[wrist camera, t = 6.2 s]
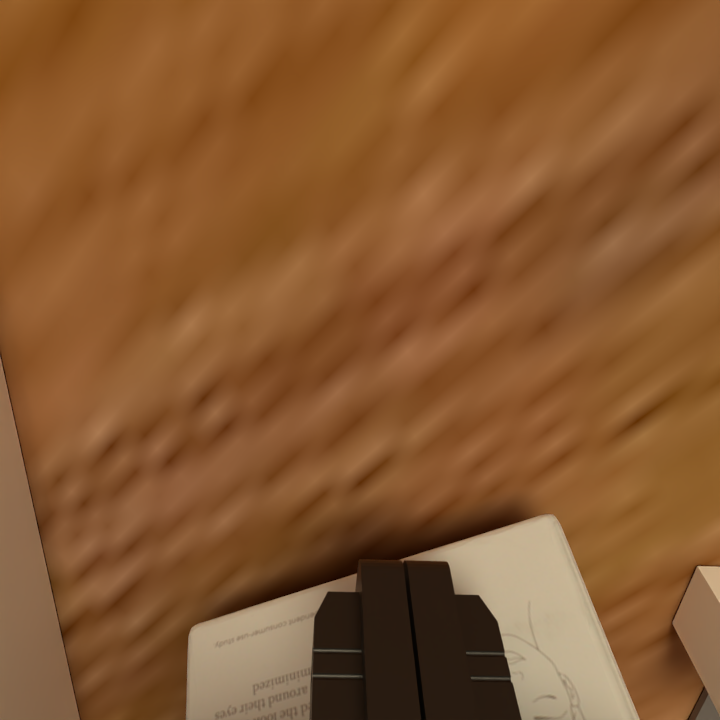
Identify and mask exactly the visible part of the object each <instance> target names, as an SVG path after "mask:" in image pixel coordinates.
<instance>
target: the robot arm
mask: <svg viewBox="0 0 720 720" xmlns="http://www.w3.org/2000/svg"><path fill="white" fill-rule="evenodd" d="M309 720H522V719H521V715H520V710H519V706H518V702H517V698H516V694H515V690H514V686H513V683H511V674H510V670H509V666H508V662H507V658H506V657H505V650H504V646H503V642H502V638H501V633H500V629H499V625H498V621H497V620H496V618H495V617H494V616H493V614H492V613H491V611H490V610H489V609H488V607H487V606H486V604H485V603H484V602H483V600H482V599H481V597H480V596H479V595H460V594H455V592H454V587H453V582H452V576H451V571H450V567H449V564H448V562H446V561H415V560H404V562H403V563H402V561H401V560H372V559H359V562H358V569H357V579H356V588H355V592H332V591H328V592H327V594H326V596H325V598H324V600H323V602H322V603H321V605H320V607H319V609H318V611H317V613H316V615H315V617H314V631H313V647H312V663H311V682H310V714H309Z"/></svg>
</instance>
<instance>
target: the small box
mask: <svg viewBox="0 0 720 720" xmlns="http://www.w3.org/2000/svg"><path fill="white" fill-rule="evenodd" d="M400 560H401V561H402V563H403V562H404V560H415V561H446V562H448V564H449V567H450V571H451V576H452V582H453V587H454V592H455V594H460V595H479V596H480V597H481V599H482V600H483V602H484V603H485V604H486V606H487V607H488V609H489V610H490V611H491V613H492V614H493V616H494V617H495V618H496V620H497V621H498V625H499V629H500V633H501V638H502V642H503V646H504V650H505V657H506V658H507V662H508V666H509V670H510V674H511V683H513V686H514V690H515V694H516V698H517V702H518V706H519V710H520V715H521V719H522V720H640V719H639V716H638V714H637V712H636V709H635V707H634V704H633V702H632V699H631V697H630V695H629V692H628V690H627V687H626V685H625V683H624V680H623V678H622V675H621V673H620V670H619V668H618V665H617V663H616V660H615V658H614V655H613V653H612V650H611V648H610V645H609V643H608V641H607V638H606V636H605V633H604V631H603V628H602V626H601V623H600V621H599V618H598V616H597V613H596V611H595V608H594V606H593V603H592V601H591V598H590V596H589V594H588V591H587V589H586V586H585V584H584V581H583V579H582V576H581V574H580V571H579V569H578V566H577V564H576V561H575V559H574V556H573V554H572V551H571V549H570V546H569V544H568V542H567V539H566V537H565V534H564V532H563V530H562V527H561V525H560V523H559V521H558V519H557V518H556V517H555V516H554V515H552V514H543V515H539V516H536V517H533V518H530V519H527V520H524V521H521V522H517V523H514V524H511V525H508V526H505V527H502V528H499V529H495V530H492V531H489V532H486V533H483V534H480V535H477V536H473V537H470V538H467V539H464V540H461V541H457V542H454V543H451V544H448V545H444V546H441V547H438V548H435V549H432V550H428V551H425V552H422V553H419V554H416V555H413V556H409V557H406V558H403V559H400ZM356 579H357V573H356V574H353V575H350V576H347V577H344V578H341V579H337V580H334V581H331V582H328V583H324V584H321V585H318V586H315V587H312V588H309V589H305V590H302V591H299V592H296V593H293V594H290V595H286V596H283V597H280V598H277V599H274V600H270V601H267V602H264V603H261V604H258V605H255V606H252V607H249V608H246V609H242V610H239V611H236V612H233V613H230V614H227V615H224V616H221V617H218V618H215V619H212V620H208V621H205V622H202V623H198V624H196V625H195V626H193V627H192V628H191V631H190V634H189V637H188V657H187V701H186V720H309V714H310V682H311V663H312V647H313V631H314V617H315V615H316V613H317V611H318V609H319V607H320V605H321V603H322V602H323V600H324V598H325V596H326V594H327V592H328V591H332V592H355V588H356Z"/></svg>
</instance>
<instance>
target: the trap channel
mask: <svg viewBox="0 0 720 720" xmlns="http://www.w3.org/2000/svg"><path fill="white" fill-rule="evenodd" d="M672 624H673V626H674V628H675V630H676V632H677V634H678V636H679V638H680V640H681V641H682V643H683V645H684V647H685V649H686V651H687V653H688V655H689V657H690V659H691V661H692V663H693V665H694V667H695V669H696V671H697V673H698V675H699V676H700V678H701V680H702V682H703V684H704V686H705V689H704V691H703V692H702V694H701V696H700V698H699V700H698V702H697V704H696V706H695V708H694V710H693V712H692V714H691V716H690V718H689V720H720V567H716V566H697V568H696V570H695V572H694V575H693V577H692V579H691V581H690V584H689V586H688V588H687V591H686V593H685V595H684V597H683V600H682V602H681V604H680V606H679V609H678V611H677V613H676V615H675V618H674V620H673V622H672ZM0 720H80V718H79V713H78V709H77V704H76V699H75V695H74V690H73V686H72V681H71V677H70V672H69V667H68V663H67V658H66V654H65V649H64V645H63V640H62V636H61V631H60V626H59V622H58V617H57V613H56V608H55V604H54V599H53V594H52V590H51V585H50V581H49V576H48V572H47V567H46V563H45V558H44V553H43V549H42V544H41V540H40V535H39V531H38V526H37V521H36V517H35V512H34V508H33V503H32V499H31V494H30V489H29V485H28V480H27V476H26V471H25V467H24V462H23V458H22V453H21V448H20V444H19V439H18V435H17V430H16V426H15V421H14V416H13V412H12V407H11V403H10V398H9V394H8V389H7V384H6V380H5V375H4V371H3V366H2V362H1V357H0Z"/></svg>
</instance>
